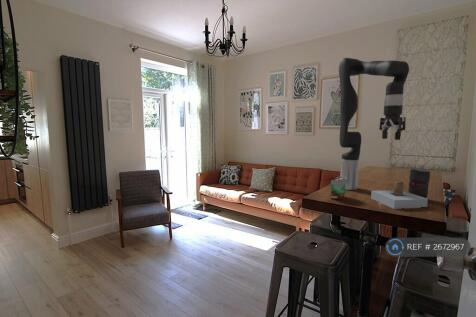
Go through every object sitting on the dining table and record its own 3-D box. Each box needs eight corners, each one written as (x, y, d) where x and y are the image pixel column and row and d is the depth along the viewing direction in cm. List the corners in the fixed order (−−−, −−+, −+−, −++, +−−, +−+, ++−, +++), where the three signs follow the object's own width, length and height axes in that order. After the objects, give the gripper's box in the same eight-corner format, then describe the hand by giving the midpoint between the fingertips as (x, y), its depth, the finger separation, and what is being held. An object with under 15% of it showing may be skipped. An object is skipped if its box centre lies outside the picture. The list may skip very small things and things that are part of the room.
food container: (342, 201, 120) (343, 181, 118) (330, 199, 123) (330, 180, 122) (349, 196, 129) (350, 177, 128) (337, 194, 133) (337, 176, 132)
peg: (390, 201, 120) (392, 181, 118) (397, 201, 120) (399, 181, 119) (396, 203, 116) (398, 183, 115) (403, 203, 116) (405, 183, 115)
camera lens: (419, 202, 118) (421, 171, 116) (403, 197, 126) (406, 168, 124) (431, 200, 120) (434, 170, 118) (415, 196, 128) (418, 168, 126)
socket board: (371, 198, 125) (371, 190, 124) (400, 197, 127) (400, 189, 126) (393, 208, 109) (394, 200, 109) (427, 207, 111) (427, 198, 110)
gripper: (376, 106, 123) (373, 138, 125) (397, 103, 109) (394, 140, 111) (390, 106, 124) (387, 138, 126) (412, 103, 110) (409, 140, 112)
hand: (390, 139), depth 119 cm, fingers open, 8 cm apart
